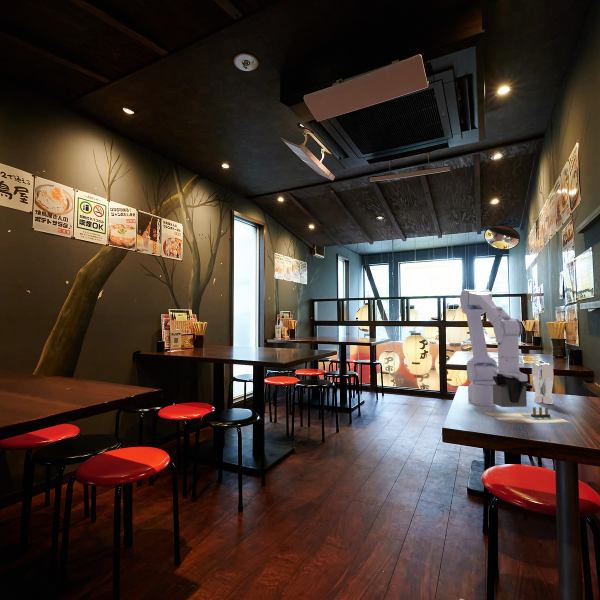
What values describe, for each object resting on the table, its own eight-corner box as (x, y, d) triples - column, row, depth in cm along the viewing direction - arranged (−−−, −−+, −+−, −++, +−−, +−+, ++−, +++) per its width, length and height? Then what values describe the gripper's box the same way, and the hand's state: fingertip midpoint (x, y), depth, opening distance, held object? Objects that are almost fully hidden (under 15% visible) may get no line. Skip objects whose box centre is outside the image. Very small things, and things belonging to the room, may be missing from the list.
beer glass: (556, 402, 138) (554, 363, 139) (552, 405, 133) (551, 365, 134) (534, 399, 143) (533, 362, 144) (531, 402, 138) (529, 363, 139)
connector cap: (493, 403, 114) (492, 384, 115) (517, 403, 115) (516, 384, 115) (501, 407, 110) (501, 387, 110) (526, 406, 110) (526, 387, 111)
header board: (484, 417, 118) (483, 403, 118) (542, 416, 119) (541, 402, 119) (507, 428, 106) (506, 412, 106) (571, 427, 107) (570, 412, 107)
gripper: (483, 354, 120) (484, 395, 119) (510, 359, 106) (512, 406, 105) (503, 354, 120) (504, 395, 120) (533, 359, 106) (535, 406, 105)
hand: (509, 400), depth 112 cm, fingers closed on connector cap, 4 cm apart
